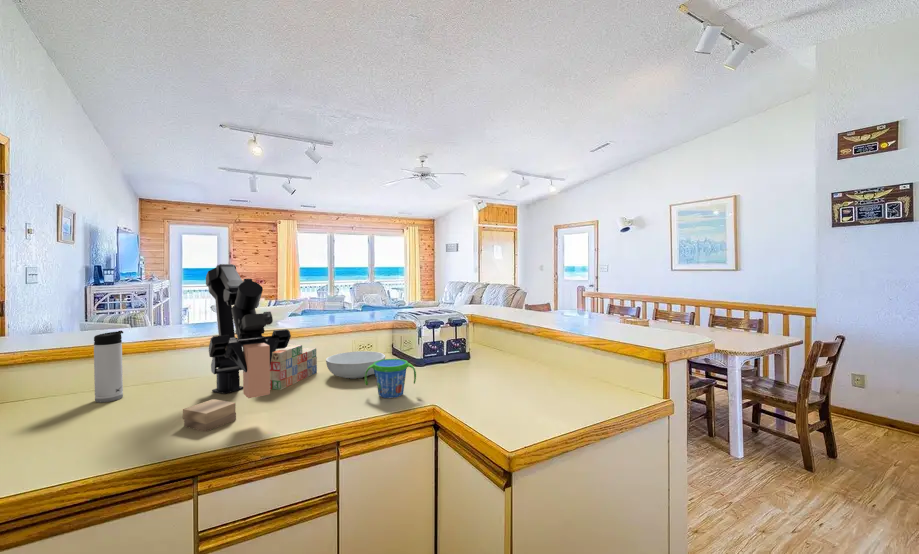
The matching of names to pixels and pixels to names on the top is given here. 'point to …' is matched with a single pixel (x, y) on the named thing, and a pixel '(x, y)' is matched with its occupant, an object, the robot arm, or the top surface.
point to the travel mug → (108, 367)
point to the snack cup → (390, 376)
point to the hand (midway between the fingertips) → (257, 369)
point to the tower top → (209, 411)
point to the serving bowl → (353, 363)
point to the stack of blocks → (291, 365)
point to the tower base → (210, 425)
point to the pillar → (256, 370)
